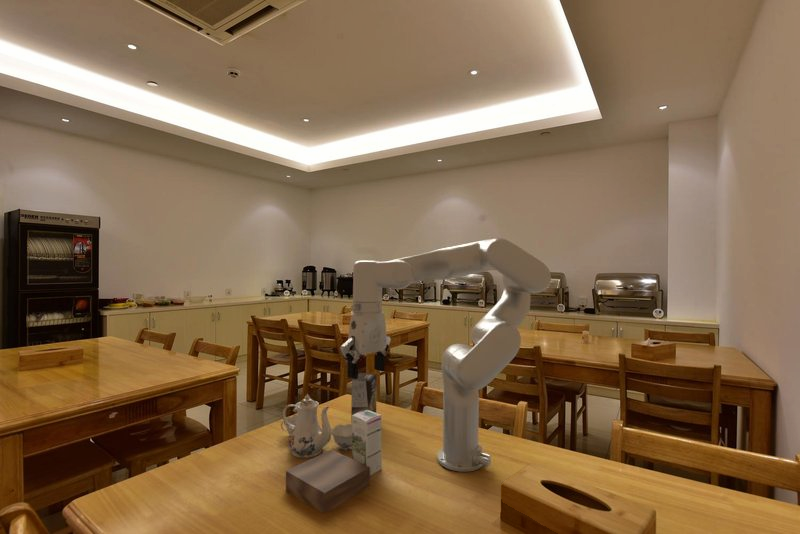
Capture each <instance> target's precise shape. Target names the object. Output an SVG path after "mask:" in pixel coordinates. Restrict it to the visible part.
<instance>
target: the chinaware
mask: <svg viewBox="0 0 800 534" xmlns="http://www.w3.org/2000/svg"><path fill="white" fill-rule="evenodd" d="M319 403H320V402H318V401H316V400H313V398H311V396H310V395H309V394H308V393H307V394H306V395H305V396H304V398H303V399H302V400H301V401H299V402H296V404H291V403H290V404H287V405H286V406H285V407H284V408H283V410H282V413H281V415H282V416H281V418H282V420H283V421H282V422H281V424H280V427H281V429H282V431H284V432H286V431H287V433H288V434H289V435H290V437H289V439H288V441H287V444H286V445H287V446H286V447H287V448H288V449H289V450H290V451H291V454H292V456H294V457H295V458H299V459H307V458H309V459H311V458H314V457H317V456H319V455H321V454H322V451H323V448H324V447H326V445H328V443H330V441H331V438H332V437H333V440H334V442H335V444H336V445H337V446H339V448H340V450H344V451H347V450H352V424H351V423H347V424H345V425H344V424H336V425H335V426H334V427H333V428H331V425H330V421H329V418H328V415H327V414H328V413H327V412H328V409H329V408H330V406H325V407H323V408H322V409H321V426H320V424H319V421H318V407H319ZM292 407H293V410H292V411H293V412H295V413H296V414H294V415H292V416H291V417H290V416H286V411H287V409H288V408H292ZM283 424H284V427H285V428H286V429H285V428H284V427H283Z"/></svg>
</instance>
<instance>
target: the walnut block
mask: <svg viewBox="0 0 800 534" xmlns="http://www.w3.org/2000/svg"><path fill="white" fill-rule="evenodd" d="M369 487H371V475H370V467H368V466H366V465H364V464H362V463H360V462H358V461H355V460H353V459H352V457H351V458H350V457H349V456H347V455H344V454H342V453H341V452H338V451H336V450H333V449H329V450H328V451H326V452H323V453H320V454H318V455H316V456H314V457H311V458H309V459H308V460H306V461H304V462H302V463H299V464H297V465H295V466H293V467H291V468H289V469H286V470H285V491H287V492H288V493H289V494H291V495H292V496H294V497H296V498H297V499H299V500H301V501H302V502H303V503H306V504H307V505H309V506H310V507H312V508H313V509H314V510H317V511H318V512H320V514H321V513H322V515H326V514H328V513H329V512H331V511H332V510H334V509H335V508H338V507H339V506H340V505H342V504H343V503H346V502H347V501H349V500H350V499H352V498H354V497H355V496H356V495H359V494H360V493H361V492H363V491H365V490H367V489H368V488H369Z"/></svg>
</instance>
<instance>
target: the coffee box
mask: <svg viewBox="0 0 800 534" xmlns="http://www.w3.org/2000/svg"><path fill="white" fill-rule="evenodd" d="M377 377H378V375H377V373H372V372H365V373H364V372H358V379H353V378H351V407H350V409H351V415H350V418H351V419H350V420H351V422H350V424H352V415H354V414H356V413H358V412H360V411H364V410H369V411H372V412H375V413H377V389H378V388H377V386H378V385H377V384H378V383H377V382H378V381H377V380H378V379H377Z"/></svg>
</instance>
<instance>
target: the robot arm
mask: <svg viewBox="0 0 800 534" xmlns="http://www.w3.org/2000/svg"><path fill="white" fill-rule="evenodd" d="M352 271H353V273H352V274H353V275H352V276H353V277H352V279H353V283H352V305H351V307H350V309H351V311H352V314H350V315H351V316H350V321H349V326H348V328H349V329H348V339H347V340H346V341H345V342H344V343H343V344H342V345H341V346H340V348H339V349H340V352H341V354H342V357H343V359H345V361H346V363H347V377H348V378H350V379H358V374H359V362H357V361H358V359H359V357H360V356H361V355H362V356H366V355H369V354H374V353H375V354H374V359H373V360H374V361H373V362H374V363H373V366H374V367H373V368H374V370H376V371H379V372H385V357H386V355H387V351H388V350H389V348H390V346H389V345H390V343H391V337H390V336H388V335H387V325H386V319H385V313H384V312H383V288H385V289H393V290H403V289H406V288H407V287H409V286H410V285H411V284H412V283H417V282H424V281H433V280H435V281H436V280H438V281H439V280H440V281H441V280H442V281H444V280H453V279H457V278H460V277H465V276H469V275H474V274H479V273H484V272H489V271H497V272H498V273H500V274H501V279H502V294H501V297H500V298H499V300H498V301H497V302H496V303H495V305H493V307H492V308H491V309H490V310H489V311H488V312H487V313H485V315H484V316H483V317H482V318H481V319H480V320H478V322H476V323H475V325H474V326H473V328H472V330H471V335H470V336H471V340H472V343H473V344H474V346H473V347H471V346H469V345H468V344H463V343H454V344H451V345H450V346H448V347H447V348H446V349H445V350H444V352H443V354H442V356H441V363H440V365H441V375H442V387H443V388H442V393H443V395H442V396H443V397H442V398H443V399H442V400H443V403H442V405H443V408H442V409H443V412H442V415H443V417H442V418H443V419H442V421H443V422H442V427H443V429H442V448H441V449H440V450H439V451H438V452H437V454H436V456H437V459H436V460H437V463H438V464H440V465H441V466H442V467H444V468H445V469H448V470H450V471H453V472H454V471H455V472H458V473H459V472H461V473H467V472H475V471H477V470H479V469H481V468H482V467H483V466H486V467H487V468H489V467H490V466H491V464H492V460H491V454H488V453H484V452H483V446H482V445H481V444H479V415H480V413H479V405H480V398H479V397H480V395H479V390H481V389H483V388H485V387H486V386H488V385H489V384H490V383H491V382H492V381H493V380H494V379H495V378H496V377H498V376H499V374H500V373H501V372H502V371H503V370H504V369H505V368H506V367H507V366H508V365H509V363H511V362H512V360H513V359H514V358H515V357H516V355H517V354H518V352H519V351H520V347H521V344H522V343H521V342H522V337H521V333H520V331H519V329H518V328H519V326H520V325H521V324H522V323H523V322H524V321H525V319H526V318H527V316H528V314H529V312H530V308H531V294H540V293H542V292H544V291H545V290H546V289H548V288H549V286H550V284H551V280H552V276H551V275H552V274H551V271H550V269H549V267H548V266H547V265H546V264H545V262H543V261H541V260H540V259H539V258H537V257H535V256H534V255H532V254H531V253H528V251H526V250H524V249H523V248H521V247H519V246H518V245H517V244H515V243H513V242H512V241H510V240H507V239H506V238H502V237H501V238H500V237H497V238H496V237H495V238H489V239H483V240H479V241H478V240H477V241H474V242H473V241H472V242H467V243H463V244H458V245H453V246H448V247H444V248H443V247H442V248H439V249H435V250H432V251H429V252H424V253H420V254H416V255H415V254H414V255H411V256H406V257H405V256H404V257H401V258H396V259H391V260H388V261H378V260H366V259H365V260H364V259H363V260H357V261H355V262H354V263H353V269H352Z"/></svg>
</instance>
